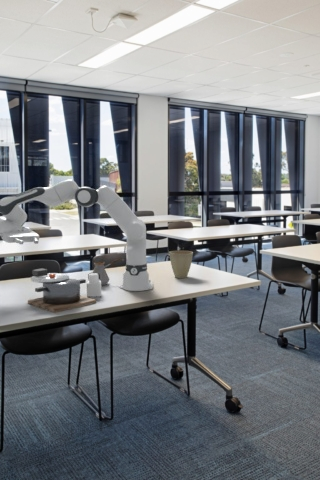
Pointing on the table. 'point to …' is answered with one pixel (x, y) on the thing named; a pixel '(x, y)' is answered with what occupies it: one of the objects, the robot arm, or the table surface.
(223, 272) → the table surface
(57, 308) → the trivet
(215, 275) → the table surface
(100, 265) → the coffee pot
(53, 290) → the cooker pot
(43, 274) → the lid
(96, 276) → the medicine bottle
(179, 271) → the plant pot
